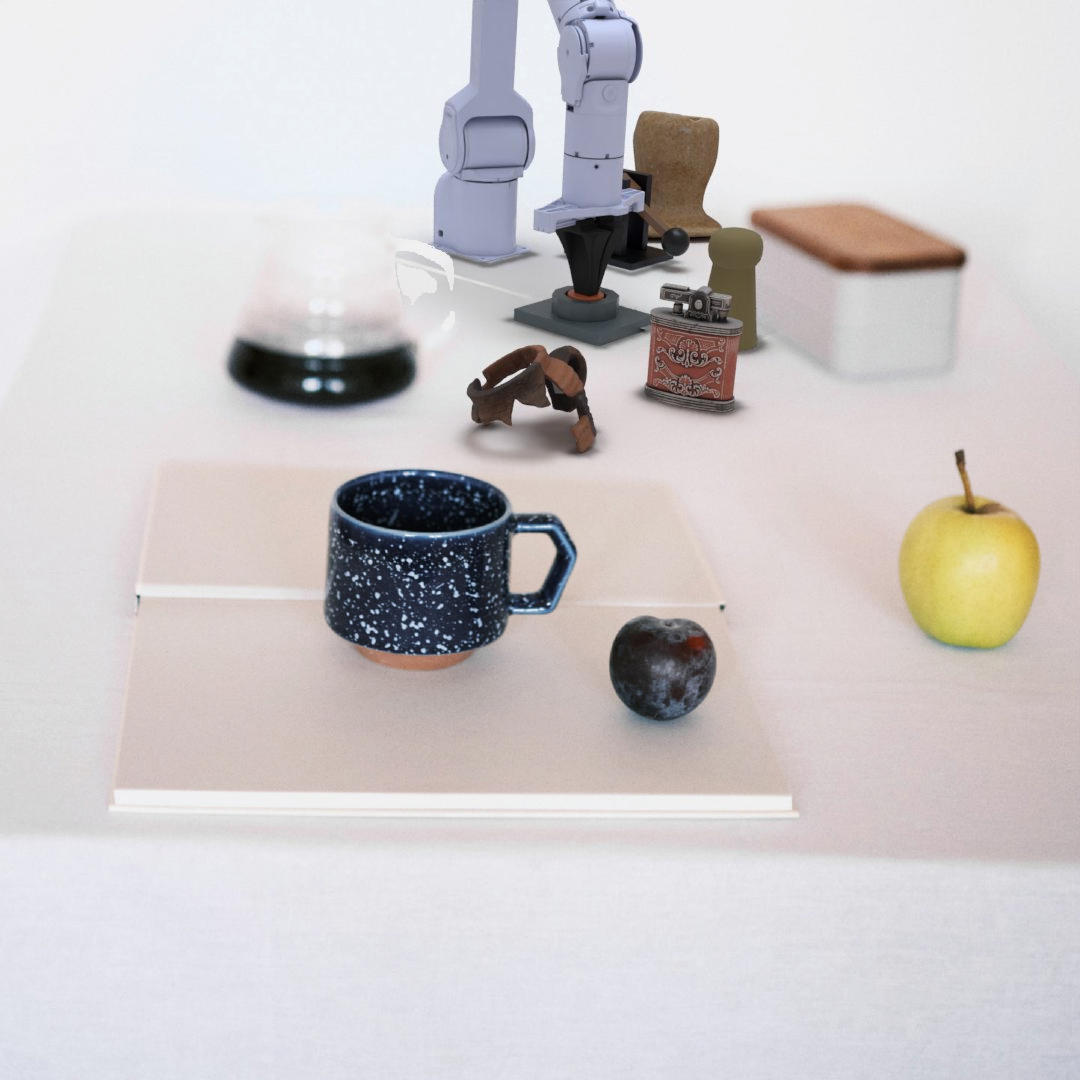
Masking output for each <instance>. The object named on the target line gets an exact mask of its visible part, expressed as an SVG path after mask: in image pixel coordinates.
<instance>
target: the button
mask: <svg viewBox="0 0 1080 1080" xmlns="http://www.w3.org/2000/svg"><path fill="white" fill-rule="evenodd" d="M568 298H572V299H575V300H584V301H595V300H601V299H604V294H603V292H601V291H599V292H598V294H597V295H594V296H591V297H588V296H585V295H581V294H578V293H575V292H574V289H573V290H570V291H569V292H568Z"/></svg>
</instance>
